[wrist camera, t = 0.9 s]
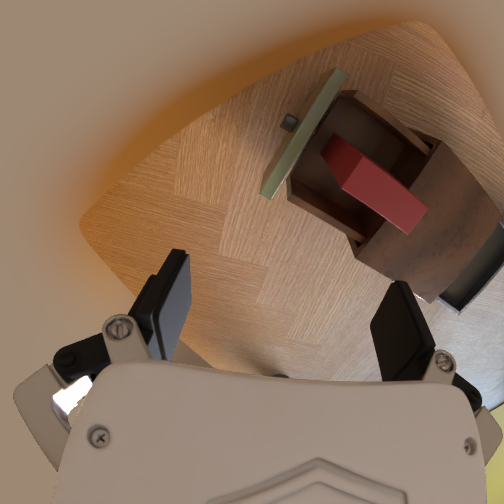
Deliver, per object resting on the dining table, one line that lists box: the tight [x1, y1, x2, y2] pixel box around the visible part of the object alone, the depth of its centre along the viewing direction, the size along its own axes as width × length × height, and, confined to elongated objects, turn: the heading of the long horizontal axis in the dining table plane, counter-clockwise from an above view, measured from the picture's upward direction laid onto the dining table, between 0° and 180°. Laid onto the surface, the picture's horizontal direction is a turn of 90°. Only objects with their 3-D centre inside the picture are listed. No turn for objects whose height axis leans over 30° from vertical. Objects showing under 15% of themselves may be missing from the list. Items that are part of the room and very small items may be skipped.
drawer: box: [259, 67, 431, 244], centre depth 25 cm, size 14×13×7 cm
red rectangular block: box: [320, 133, 428, 235], centre depth 22 cm, size 7×3×11 cm, turn 63°
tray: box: [435, 218, 504, 315], centre depth 33 cm, size 18×11×2 cm, turn 153°
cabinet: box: [346, 127, 503, 304], centre depth 27 cm, size 14×15×9 cm
